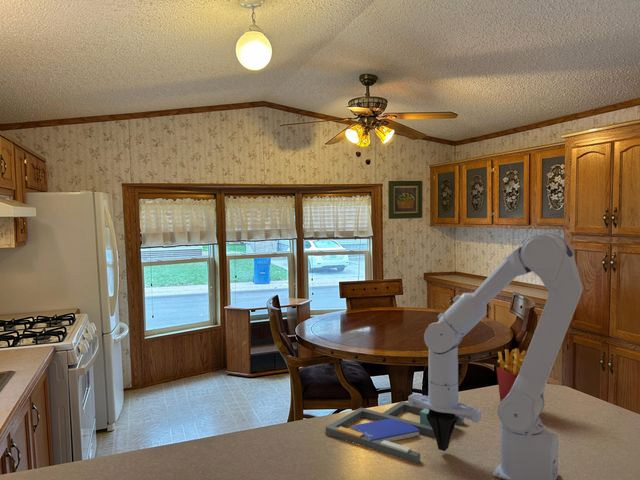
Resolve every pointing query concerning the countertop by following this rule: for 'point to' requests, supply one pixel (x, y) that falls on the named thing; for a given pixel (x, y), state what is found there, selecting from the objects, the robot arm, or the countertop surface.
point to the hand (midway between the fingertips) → (443, 448)
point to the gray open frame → (384, 446)
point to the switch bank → (410, 410)
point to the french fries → (508, 370)
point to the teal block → (424, 417)
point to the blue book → (386, 430)
